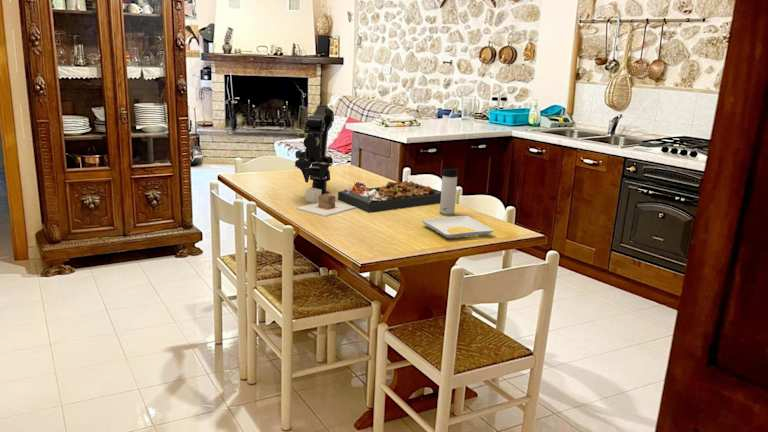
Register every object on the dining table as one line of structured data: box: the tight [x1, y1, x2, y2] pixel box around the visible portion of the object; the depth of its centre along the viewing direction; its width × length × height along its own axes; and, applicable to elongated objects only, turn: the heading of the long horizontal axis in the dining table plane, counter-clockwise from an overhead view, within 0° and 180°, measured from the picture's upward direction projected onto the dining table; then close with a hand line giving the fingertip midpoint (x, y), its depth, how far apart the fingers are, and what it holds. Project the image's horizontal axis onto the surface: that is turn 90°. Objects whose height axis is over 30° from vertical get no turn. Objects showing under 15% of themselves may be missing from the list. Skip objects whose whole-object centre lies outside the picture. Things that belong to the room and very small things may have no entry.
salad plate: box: [421, 215, 494, 239], centre depth 241 cm, size 21×21×3 cm
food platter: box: [337, 180, 441, 214], centre depth 284 cm, size 45×25×10 cm, turn 126°
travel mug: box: [439, 168, 459, 216], centre depth 264 cm, size 6×7×20 cm
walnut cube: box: [317, 193, 336, 209], centre depth 264 cm, size 5×5×5 cm
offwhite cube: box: [305, 187, 322, 203], centre depth 278 cm, size 5×5×5 cm
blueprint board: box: [296, 201, 357, 218], centre depth 265 cm, size 20×16×1 cm
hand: (313, 180), depth 276 cm, fingers open, 9 cm apart
